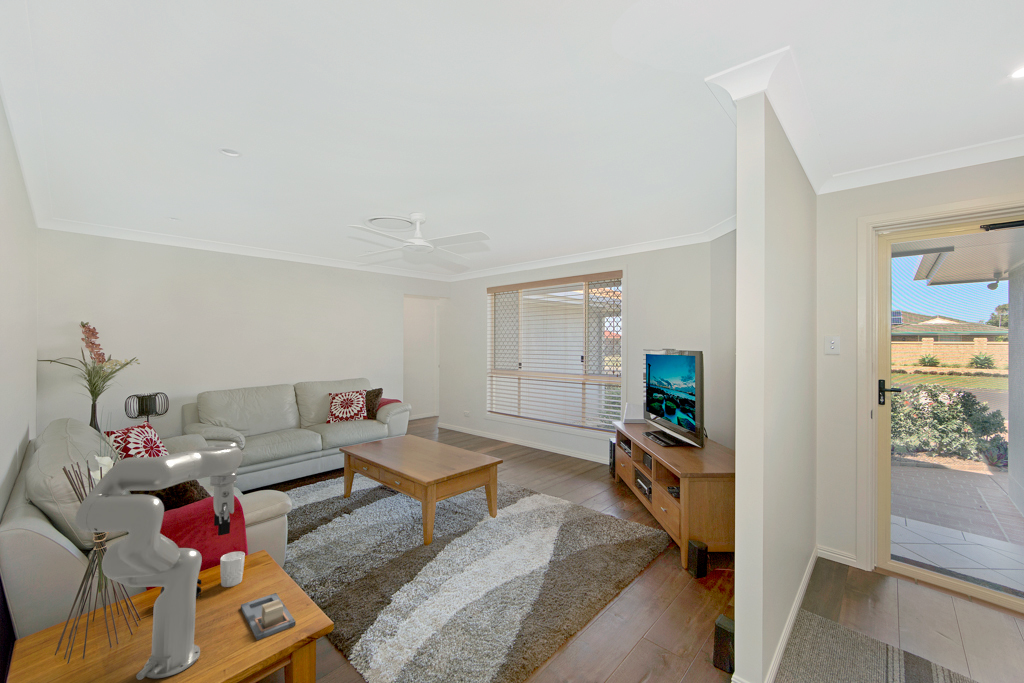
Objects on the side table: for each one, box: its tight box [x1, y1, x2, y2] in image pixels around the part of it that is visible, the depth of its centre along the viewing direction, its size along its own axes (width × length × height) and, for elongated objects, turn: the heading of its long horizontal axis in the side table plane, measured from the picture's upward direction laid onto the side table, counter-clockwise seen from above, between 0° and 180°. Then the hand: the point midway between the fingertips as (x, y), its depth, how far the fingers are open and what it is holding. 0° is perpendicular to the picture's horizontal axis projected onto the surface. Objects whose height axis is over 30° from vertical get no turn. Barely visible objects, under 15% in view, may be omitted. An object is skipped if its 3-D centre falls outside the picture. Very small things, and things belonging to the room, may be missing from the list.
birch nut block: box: [261, 599, 283, 629], centre depth 140 cm, size 5×5×6 cm
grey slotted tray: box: [240, 592, 297, 641], centre depth 144 cm, size 22×11×2 cm, turn 43°
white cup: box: [219, 551, 246, 588], centre depth 165 cm, size 8×8×10 cm
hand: (221, 529), depth 147 cm, fingers open, 9 cm apart
